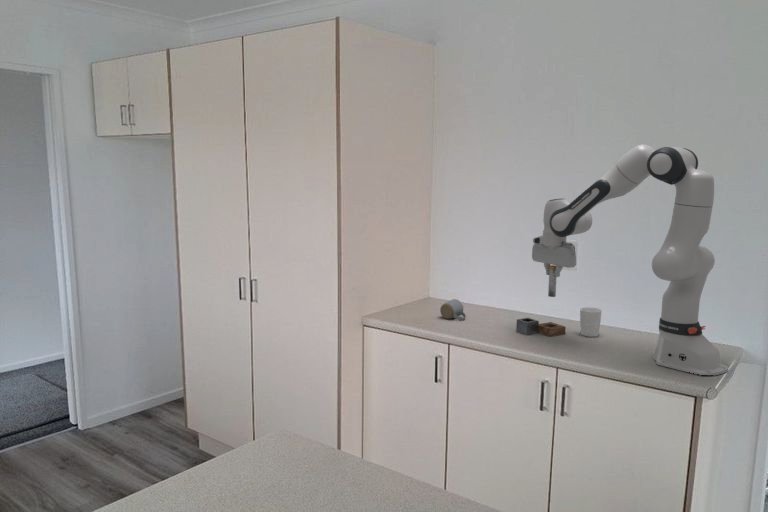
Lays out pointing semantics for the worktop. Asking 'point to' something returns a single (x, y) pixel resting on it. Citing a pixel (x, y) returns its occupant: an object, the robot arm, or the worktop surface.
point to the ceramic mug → (452, 310)
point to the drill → (552, 281)
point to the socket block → (527, 326)
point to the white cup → (590, 321)
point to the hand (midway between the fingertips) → (552, 275)
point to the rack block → (551, 329)
